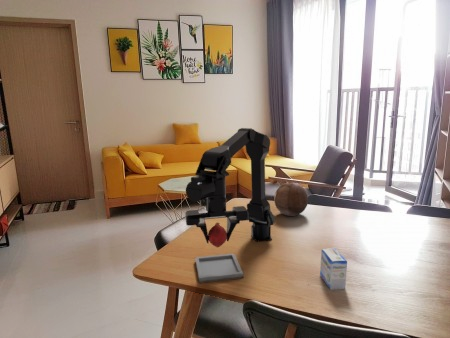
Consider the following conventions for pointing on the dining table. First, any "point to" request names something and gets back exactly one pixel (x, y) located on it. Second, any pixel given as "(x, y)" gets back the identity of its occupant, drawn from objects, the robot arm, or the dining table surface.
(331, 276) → the medicine box
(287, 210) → the wooden sphere
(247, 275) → the dining table surface
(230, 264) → the dish
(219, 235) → the onion
